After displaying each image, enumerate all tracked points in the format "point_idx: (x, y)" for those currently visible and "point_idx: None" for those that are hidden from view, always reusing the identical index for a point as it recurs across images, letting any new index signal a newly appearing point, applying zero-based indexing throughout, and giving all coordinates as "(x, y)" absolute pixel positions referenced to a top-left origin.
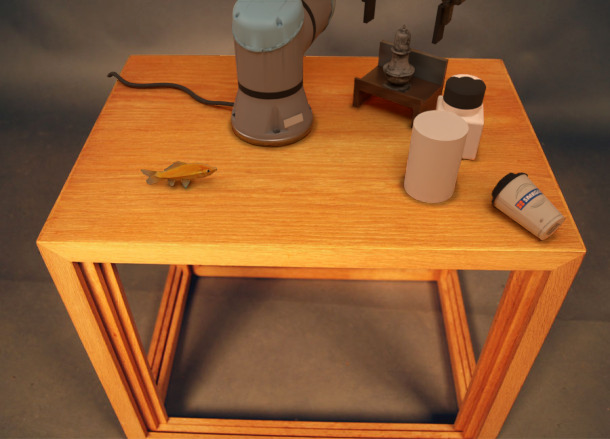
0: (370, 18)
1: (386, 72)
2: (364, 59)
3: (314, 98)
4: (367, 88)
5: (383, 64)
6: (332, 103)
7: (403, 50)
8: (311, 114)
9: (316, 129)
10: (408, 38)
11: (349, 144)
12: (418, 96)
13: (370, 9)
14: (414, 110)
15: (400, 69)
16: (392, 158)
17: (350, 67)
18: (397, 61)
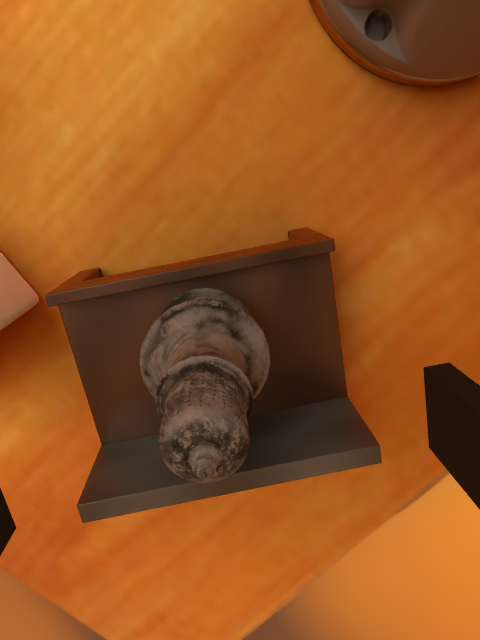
0: (434, 414)
1: (218, 301)
2: None
3: (430, 171)
4: (268, 247)
5: (327, 404)
6: (366, 193)
7: (173, 386)
8: (338, 4)
9: (301, 25)
10: (159, 433)
11: (161, 41)
12: (103, 336)
13: (466, 438)
14: (77, 280)
15: (175, 342)
16: (13, 87)
17: None
18: (191, 349)
